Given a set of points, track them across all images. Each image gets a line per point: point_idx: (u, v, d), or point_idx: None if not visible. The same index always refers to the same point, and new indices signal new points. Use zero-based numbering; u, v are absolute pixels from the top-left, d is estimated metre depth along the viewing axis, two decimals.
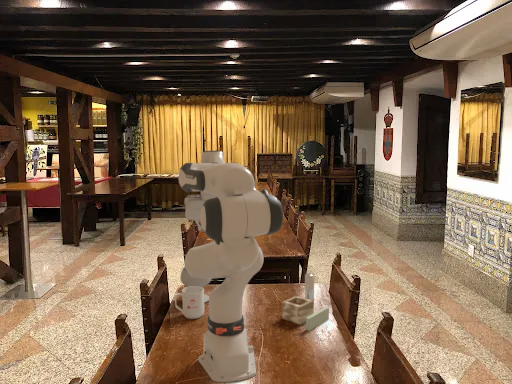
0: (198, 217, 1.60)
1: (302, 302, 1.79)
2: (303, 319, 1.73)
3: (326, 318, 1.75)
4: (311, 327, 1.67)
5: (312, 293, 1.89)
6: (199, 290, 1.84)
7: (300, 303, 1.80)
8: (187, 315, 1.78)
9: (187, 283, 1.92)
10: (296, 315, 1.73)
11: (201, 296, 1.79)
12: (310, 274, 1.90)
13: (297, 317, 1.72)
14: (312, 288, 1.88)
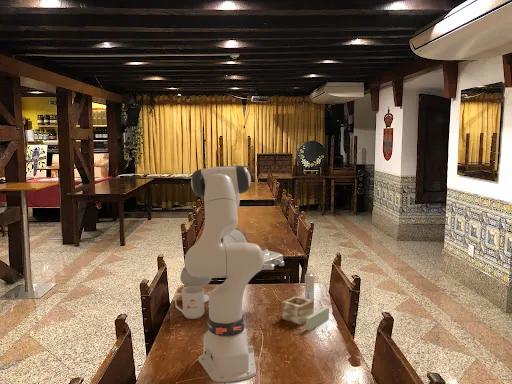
0: None
1: (302, 302, 1.79)
2: (303, 319, 1.73)
3: (326, 318, 1.75)
4: (311, 327, 1.67)
5: (312, 293, 1.89)
6: (199, 290, 1.84)
7: (300, 303, 1.80)
8: (187, 315, 1.78)
9: (187, 283, 1.92)
10: (296, 315, 1.73)
11: (201, 296, 1.79)
12: (310, 274, 1.90)
13: (297, 317, 1.72)
14: (312, 288, 1.88)
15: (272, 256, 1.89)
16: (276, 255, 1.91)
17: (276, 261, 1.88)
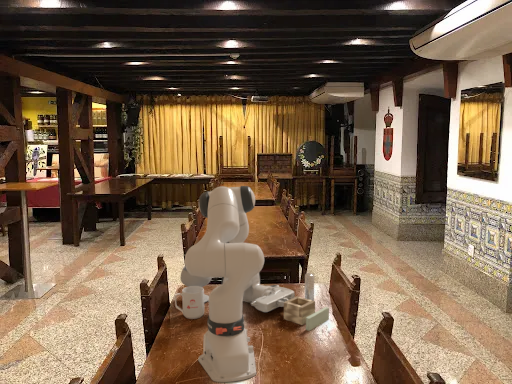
0: (271, 300, 1.79)
1: (303, 302, 1.79)
2: (305, 319, 1.73)
3: (326, 318, 1.75)
4: (311, 327, 1.67)
5: (312, 293, 1.89)
6: (199, 290, 1.84)
7: (301, 303, 1.80)
8: (187, 315, 1.78)
9: (187, 283, 1.92)
10: (298, 315, 1.72)
11: (201, 296, 1.79)
12: (310, 274, 1.90)
13: (298, 317, 1.72)
14: (312, 288, 1.88)
15: (284, 293, 1.87)
16: (287, 292, 1.89)
17: (284, 300, 1.83)
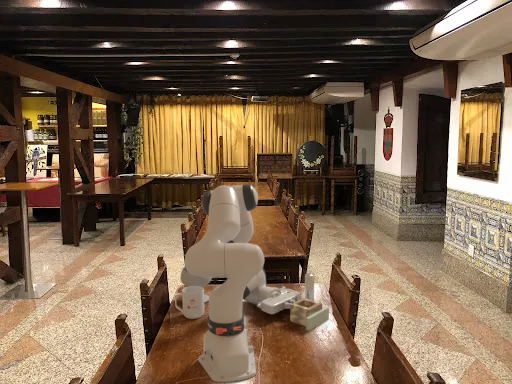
0: (277, 302, 1.77)
1: (310, 304, 1.77)
2: None
3: (326, 318, 1.75)
4: (311, 327, 1.67)
5: (312, 293, 1.89)
6: (199, 290, 1.84)
7: (308, 305, 1.78)
8: (187, 315, 1.78)
9: (187, 283, 1.92)
10: (304, 318, 1.70)
11: (201, 296, 1.79)
12: (310, 274, 1.90)
13: (305, 319, 1.70)
14: (312, 288, 1.88)
15: (290, 295, 1.85)
16: (294, 294, 1.87)
17: (290, 302, 1.81)
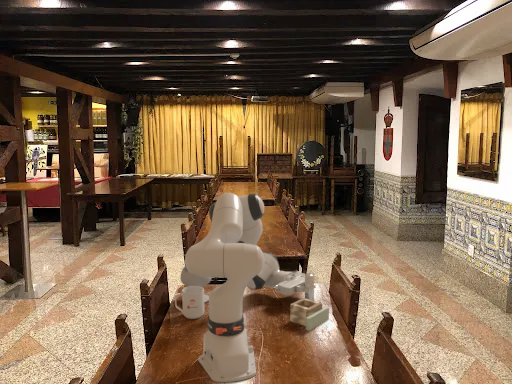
0: (292, 285, 1.89)
1: (310, 304, 1.77)
2: None
3: (326, 318, 1.75)
4: (311, 327, 1.67)
5: (312, 293, 1.89)
6: (199, 290, 1.84)
7: (308, 305, 1.78)
8: (187, 315, 1.78)
9: (187, 283, 1.92)
10: (304, 318, 1.70)
11: (201, 296, 1.79)
12: (310, 274, 1.90)
13: (305, 319, 1.70)
14: (312, 288, 1.88)
15: (304, 278, 1.97)
16: None
17: None
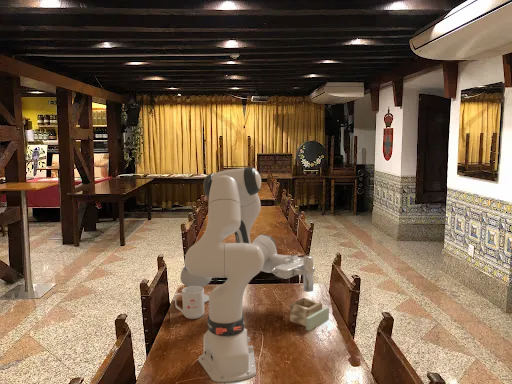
0: (290, 267, 1.79)
1: (310, 304, 1.77)
2: None
3: (326, 318, 1.75)
4: (311, 327, 1.67)
5: (311, 276, 1.79)
6: (199, 290, 1.84)
7: (308, 305, 1.78)
8: (187, 315, 1.78)
9: (187, 283, 1.92)
10: (304, 318, 1.70)
11: (201, 296, 1.79)
12: (309, 256, 1.80)
13: (305, 319, 1.70)
14: (311, 271, 1.79)
15: None
16: None
17: None
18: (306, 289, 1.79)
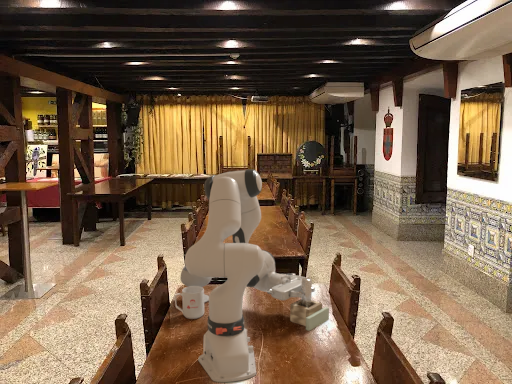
0: (288, 288, 1.73)
1: None
2: None
3: (326, 318, 1.75)
4: (311, 327, 1.67)
5: (309, 299, 1.72)
6: (199, 290, 1.84)
7: None
8: (187, 315, 1.78)
9: (187, 283, 1.92)
10: (304, 318, 1.70)
11: (201, 296, 1.79)
12: (307, 279, 1.74)
13: (305, 319, 1.70)
14: (309, 294, 1.72)
15: (300, 281, 1.81)
16: None
17: None
18: None
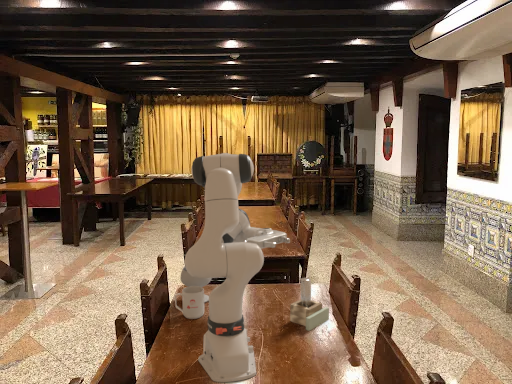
0: (262, 239, 1.79)
1: None
2: None
3: (326, 318, 1.75)
4: (311, 327, 1.67)
5: (308, 299, 1.72)
6: (199, 290, 1.84)
7: None
8: (187, 315, 1.78)
9: (187, 283, 1.92)
10: (304, 318, 1.70)
11: (201, 296, 1.79)
12: (306, 279, 1.74)
13: (305, 319, 1.70)
14: (309, 294, 1.72)
15: (276, 234, 1.87)
16: (280, 233, 1.88)
17: (282, 238, 1.86)
18: None
